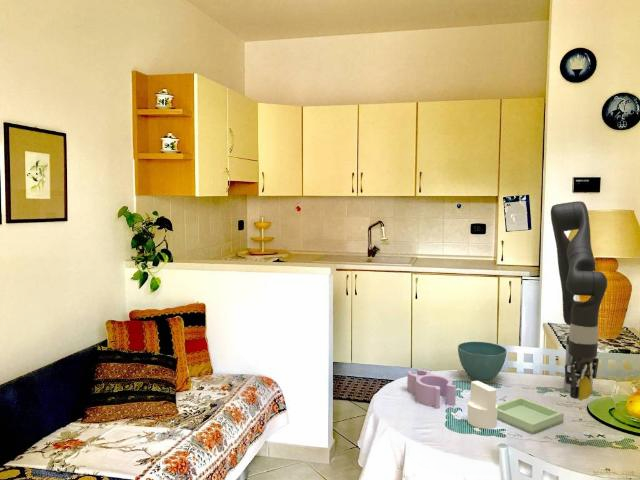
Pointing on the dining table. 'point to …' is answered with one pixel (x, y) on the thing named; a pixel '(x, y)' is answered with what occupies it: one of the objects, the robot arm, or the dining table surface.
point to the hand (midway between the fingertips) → (580, 395)
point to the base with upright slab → (482, 406)
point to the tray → (528, 415)
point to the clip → (430, 388)
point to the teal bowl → (481, 360)
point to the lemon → (584, 388)
